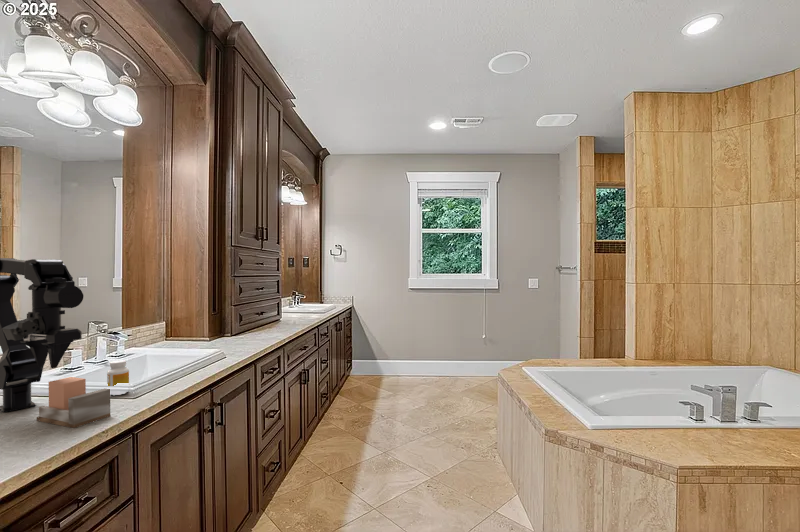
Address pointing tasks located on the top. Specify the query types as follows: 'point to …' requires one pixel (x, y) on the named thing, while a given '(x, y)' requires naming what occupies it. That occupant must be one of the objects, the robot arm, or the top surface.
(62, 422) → the rail
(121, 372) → the supplement bottle
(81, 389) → the peach knobbed cube
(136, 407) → the top surface
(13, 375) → the robot arm
